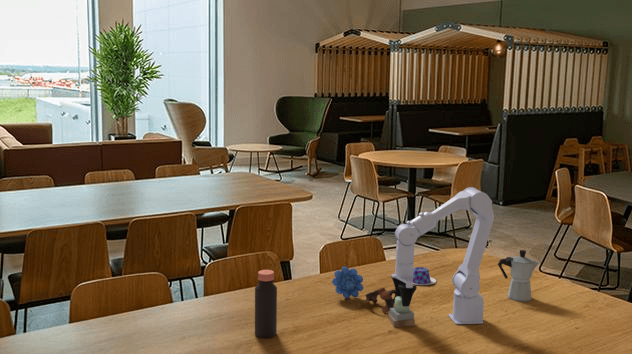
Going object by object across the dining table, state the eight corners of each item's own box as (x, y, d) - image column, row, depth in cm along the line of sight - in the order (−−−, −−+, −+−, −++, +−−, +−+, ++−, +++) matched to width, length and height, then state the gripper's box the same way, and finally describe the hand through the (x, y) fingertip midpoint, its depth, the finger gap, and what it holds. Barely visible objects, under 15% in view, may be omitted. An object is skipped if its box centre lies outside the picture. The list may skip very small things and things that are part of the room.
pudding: (402, 284, 252) (403, 271, 251) (407, 275, 263) (408, 262, 262) (434, 288, 249) (434, 275, 248) (437, 278, 260) (438, 266, 259)
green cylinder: (407, 307, 217) (407, 295, 216) (410, 313, 212) (411, 301, 211) (393, 307, 216) (393, 296, 215) (396, 313, 211) (396, 301, 211)
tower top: (406, 312, 218) (406, 306, 217) (413, 318, 212) (414, 313, 212) (389, 313, 216) (389, 308, 216) (396, 320, 210) (397, 314, 210)
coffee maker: (534, 294, 243) (538, 247, 240) (540, 303, 234) (544, 254, 231) (493, 292, 244) (496, 245, 241) (497, 300, 236) (500, 252, 233)
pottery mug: (378, 316, 220) (368, 293, 221) (368, 319, 229) (359, 297, 230) (407, 303, 224) (398, 281, 226) (397, 306, 233) (387, 284, 234)
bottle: (265, 327, 208) (265, 267, 204) (281, 333, 203) (281, 271, 200) (250, 334, 202) (250, 272, 199) (265, 340, 198) (266, 277, 195)
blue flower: (334, 303, 230) (335, 270, 228) (330, 296, 236) (331, 264, 234) (366, 301, 232) (367, 269, 230) (361, 295, 239) (362, 263, 237)
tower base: (408, 319, 219) (408, 312, 218) (414, 327, 212) (414, 320, 211) (387, 319, 217) (388, 312, 217) (393, 328, 211) (393, 320, 210)
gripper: (387, 255, 218) (385, 294, 220) (398, 268, 204) (396, 310, 206) (407, 255, 219) (406, 293, 221) (420, 268, 204) (418, 309, 207)
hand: (402, 301), depth 213 cm, fingers open, 7 cm apart
